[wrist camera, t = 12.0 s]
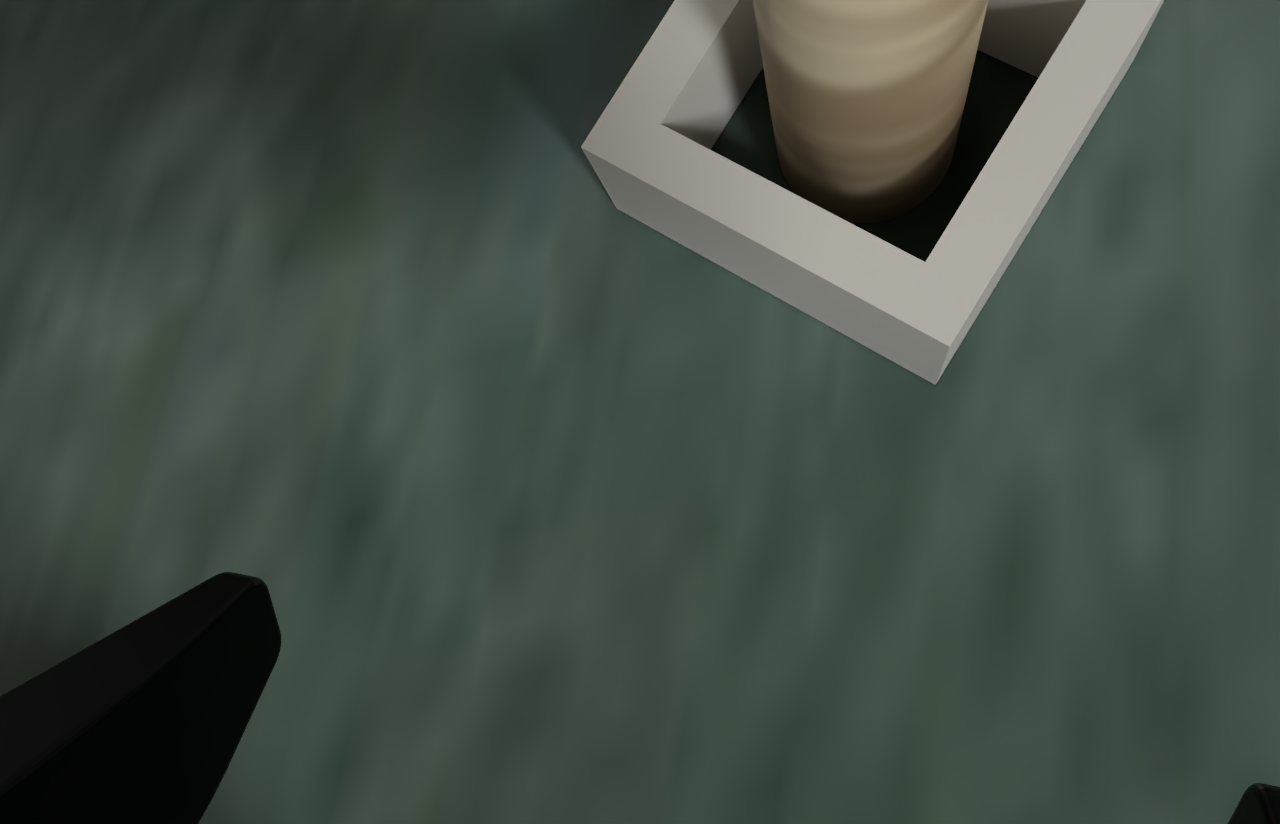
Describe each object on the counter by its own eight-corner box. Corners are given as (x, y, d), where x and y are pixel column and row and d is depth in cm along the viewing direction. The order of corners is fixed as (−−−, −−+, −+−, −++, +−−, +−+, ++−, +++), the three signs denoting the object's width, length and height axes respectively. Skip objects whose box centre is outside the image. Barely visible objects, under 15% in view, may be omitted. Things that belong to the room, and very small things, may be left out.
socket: (935, 385, 23) (949, 347, 20) (616, 208, 25) (580, 146, 22) (1132, 63, 24) (1178, -29, 20) (802, -85, 26) (795, -189, 23)
